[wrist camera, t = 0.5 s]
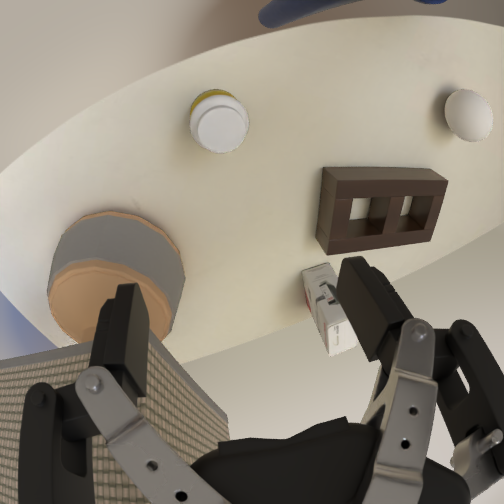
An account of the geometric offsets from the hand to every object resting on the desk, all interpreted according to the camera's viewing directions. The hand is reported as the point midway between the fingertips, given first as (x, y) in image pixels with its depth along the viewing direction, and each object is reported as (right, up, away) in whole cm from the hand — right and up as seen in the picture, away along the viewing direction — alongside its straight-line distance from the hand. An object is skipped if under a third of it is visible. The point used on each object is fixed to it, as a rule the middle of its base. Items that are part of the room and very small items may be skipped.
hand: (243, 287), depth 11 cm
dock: (+19, +9, +29) cm, 36 cm away
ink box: (+11, -4, +37) cm, 39 cm away
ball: (+31, +23, +22) cm, 44 cm away
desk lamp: (-18, 0, +28) cm, 34 cm away
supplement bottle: (-4, +17, +19) cm, 26 cm away
